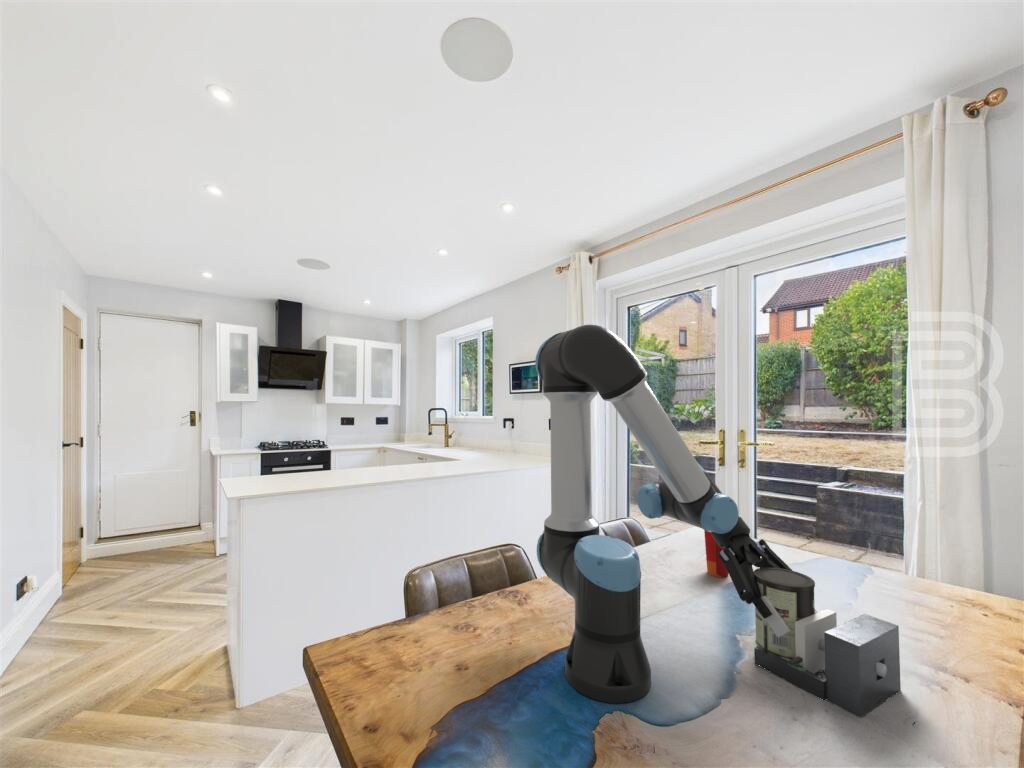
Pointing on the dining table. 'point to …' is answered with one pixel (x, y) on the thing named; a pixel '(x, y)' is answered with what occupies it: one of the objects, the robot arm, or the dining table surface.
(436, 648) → the dining table surface
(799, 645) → the pressure pad
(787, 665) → the frame
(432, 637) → the dining table surface
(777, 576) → the coffee can
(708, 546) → the paper cup
